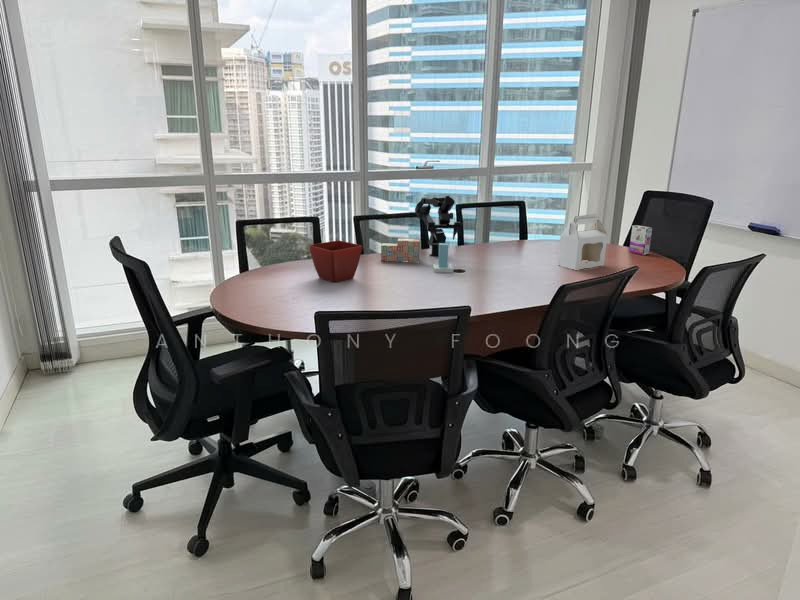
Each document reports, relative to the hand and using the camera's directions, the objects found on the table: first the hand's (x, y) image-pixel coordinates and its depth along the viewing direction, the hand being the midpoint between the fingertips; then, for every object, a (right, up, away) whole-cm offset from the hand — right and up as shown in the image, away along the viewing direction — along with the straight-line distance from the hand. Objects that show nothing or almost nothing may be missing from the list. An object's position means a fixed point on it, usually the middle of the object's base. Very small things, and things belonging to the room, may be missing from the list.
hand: (445, 239), depth 314 cm
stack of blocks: (-25, -11, +10) cm, 29 cm away
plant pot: (-57, -22, -26) cm, 66 cm away
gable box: (+75, -15, +2) cm, 76 cm away
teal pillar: (-2, -15, -10) cm, 18 cm away
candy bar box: (+119, -5, +32) cm, 124 cm away
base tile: (-2, -17, -9) cm, 20 cm away
